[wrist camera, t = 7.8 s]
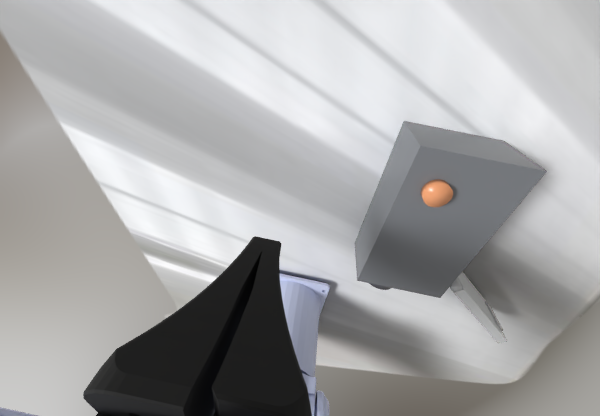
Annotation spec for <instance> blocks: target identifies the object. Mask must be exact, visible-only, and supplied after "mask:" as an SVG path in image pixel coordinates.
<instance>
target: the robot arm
mask: <svg viewBox="0 0 600 416" xmlns="http://www.w3.org/2000/svg"><path fill="white" fill-rule="evenodd" d="M280 249H281V243H280V242H279V241H274V240H269V239H265V238H260V237H253V238H252V240H251V241H250V242H249V244H248V245H247V246H246V248H245V249H244V250H243V251H242V252H241V254H240V255H239V256H238V257H237V258H236V259H235V260H234V261H233V262H232V264H231V265H230V266H229V267H228V268H227V269H226V270H225V271H224V272H223V273H222V274H221V275H220V276H219V277H218V278H217V279H216V280H215V281H213V282H212V283H211V284H210V285H209V286H208V287H207V288H206V289H205V290H203V291H202V292H201V293H200V294H199V295H197V296H196V297H195V298H194V299H192V300H191V301H190V302H188V303H187V304H186V305H185V306H183V307H182V308H181V309H179V310H178V311H176V312H175V313H174V314H172V315H171V316H169V317H168V318H166V319H165V320H163V321H162V322H161V323H159V324H157V325H156V326H154V327H153V328H151V329H150V330H148V331H146V332H145V333H143V334H141V335H140V336H138V337H136V338H135V339H133V340H131V341H129V342H128V343H126V344H125V345H123V346H121V347H119V348H117V349H116V350H115V352H114V353H113V354H112V355H111V356H110V357H109V359H108V360H107V361H106V362H105V363H104V365H103V366H102V367H101V368H100V370H99V371H98V373H97V374H96V375H95V377H94V378H93V380H92V381H91V382H90V384H89V385H88V387H87V388H86V390H85V391H84V399H85V400H86V401H87V402H88V403H89V404H90V405H91V406H92V407H93V408H94V409H95V410H96V411H97V412H98V414H97V415H96V416H329V402H328V400H327V398H326V397H325V396H324V393H323V392H322V391H318V390H317V392H316V398H315V391H316V378H315V365H316V352H317V338H318V325H319V316H320V313H321V311H322V308H323V305H324V303H325V300H326V297H327V295H328V292H329V289H330V286H329V284H327V283H323V282H318V281H313V280H308V279H304V278H299V277H294V276H289V275H285V274H280V273H279V256H280ZM0 416H37V415H32V414H27V413H24V412H19V411H14V410H10V409H5V408H1V407H0Z"/></svg>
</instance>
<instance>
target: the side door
mask: <svg viewBox="0 0 600 416" xmlns="http://www.w3.org/2000/svg"><path fill="white" fill-rule="evenodd" d="M450 288H451V290H452V291H453V292H454V294H455V295H456V296H457V297H458V298H459V299H460V300H461V302H462V303H463V304H464V305H465V306H466V307H467V309H468V310H469V311H470V312H471V313H472V314H473V315H474V317H475V318H476V319H477V320H478V321H479V322H480V323H481V325H482V326H483V327H484V328H485V329H486V330H487V332H488V333H489V334H490V335H491V336H492V337H493V338H494V340H495V341H496V342H497V343H502V342H507V340H506V338H505V336H504V334H503V332H502V331H503V329H502V327H501V325H500V323H499V321H498V319H497V318H496V316H495V314H494V312H493V310H492V308H491V307H490V305H489V304H488V303H487V302H486V300H485V299H484V298H483V297H482V295H481V294H480V293H479V292H478V290H477V289H476V288H475V287H474V285H473V284H472V283H471V282H470V280H469V279H468V278H467V277H466V275H465V274H464V273H463V272H462V273H461V274H460V275H459V276H458V277H457V278H456V280H455V281H454V282H453V283H452V284H451V286H450Z"/></svg>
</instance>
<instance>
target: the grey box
mask: <svg viewBox="0 0 600 416" xmlns="http://www.w3.org/2000/svg"><path fill="white" fill-rule="evenodd" d="M546 172H547V171H546V170H545V169H543V168H542V167H540V166H539V165H537V164H536V163H535V162H533V161H532V160H530V159H529V158H527V157H526V156H525V155H523V154H522V153H520V152H519V151H518V150H516V149H515V148H513V147H512V146H510V145H509V144H508V143H506V142H505V141H501V140H496V139H491V138H486V137H481V136H476V135H471V134H466V133H461V132H456V131H451V130H446V129H441V128H436V127H431V126H426V125H421V124H416V123H411V122H406V121H404V122H403V125H402V127H401V130H400V132H399V135H398V137H397V140H396V142H395V145H394V147H393V150H392V152H391V155H390V157H389V160H388V162H387V165H386V167H385V169H384V172H383V174H382V177H381V179H380V182H379V184H378V187H377V189H376V192H375V194H374V197H373V199H372V202H371V204H370V207H369V209H368V212H367V214H366V217H365V219H364V222H363V224H362V227H361V229H360V232H359V234H358V236H357V239H356V241H355V253H356V269H357V281H362V282H367V283H370V284H371V285H372V286H374V287H376V288H378V289H383V290H387V289H390V288H395V289H400V290H405V291H410V292H415V293H419V294H424V295H429V296H434V297H438V298H440V297H441V296H442V295H443V294H444V293H445V291H446V290H447V289H448V288H449V287H450V286H451V284H452V283H453V282H454V281H455V280H456V278H457V277H458V276H459V275H460V274H461V273H462V271H463V270H464V269H465V268H466V267H467V265H468V264H469V263H470V262H471V261H472V260H473V258H474V257H475V256H476V255H477V254H478V252H479V251H480V250H481V249H482V248H483V247H484V245H485V244H486V243H487V242H488V241H489V239H490V238H491V237H492V236H493V235H494V233H495V232H496V231H497V230H498V229H499V228H500V226H501V225H502V224H503V223H504V222H505V220H506V219H507V218H508V217H509V216H510V215H511V213H512V212H513V211H514V210H515V209H516V207H517V206H518V205H519V204H520V203H521V202H522V200H523V199H524V198H525V197H526V196H527V194H528V193H529V192H530V191H531V190H532V189H533V187H534V186H535V185H536V184H537V183H538V181H539V180H540V179H541V178H542V177H543V176H544V174H545V173H546Z"/></svg>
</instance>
